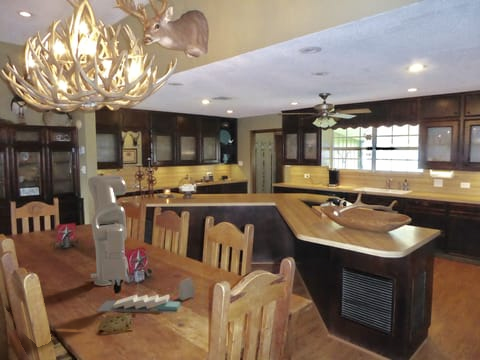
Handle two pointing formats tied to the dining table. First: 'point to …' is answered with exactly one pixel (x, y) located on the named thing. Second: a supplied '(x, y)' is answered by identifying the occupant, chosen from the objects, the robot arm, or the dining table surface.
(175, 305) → the domino
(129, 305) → the domino
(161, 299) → the domino
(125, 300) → the domino
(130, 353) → the dining table surface
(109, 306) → the board
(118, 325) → the pastry
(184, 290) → the grey upright block
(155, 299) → the domino
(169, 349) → the dining table surface
